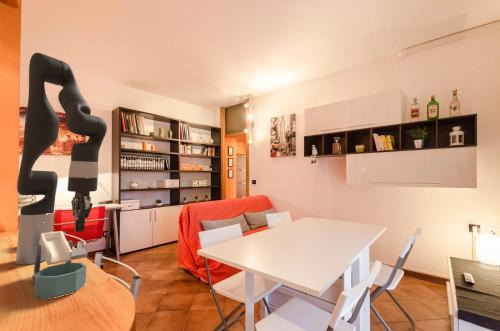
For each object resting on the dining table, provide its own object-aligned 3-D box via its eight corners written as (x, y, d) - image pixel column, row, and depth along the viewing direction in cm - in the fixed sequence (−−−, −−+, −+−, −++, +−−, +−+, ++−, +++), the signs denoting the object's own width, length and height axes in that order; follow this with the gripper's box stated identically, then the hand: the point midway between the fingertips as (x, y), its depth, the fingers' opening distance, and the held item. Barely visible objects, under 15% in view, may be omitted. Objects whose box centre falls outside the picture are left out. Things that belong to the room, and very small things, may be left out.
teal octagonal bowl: (32, 290, 61) (33, 269, 61) (78, 278, 69) (79, 260, 69) (38, 304, 54) (40, 280, 55) (88, 289, 62) (89, 268, 63)
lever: (38, 250, 72) (40, 233, 71) (74, 244, 79) (76, 229, 78) (46, 275, 62) (48, 255, 62) (85, 266, 69) (88, 248, 69)
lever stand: (31, 280, 67) (34, 244, 67) (67, 271, 73) (70, 239, 74) (34, 285, 64) (37, 248, 64) (71, 276, 70) (74, 242, 71)
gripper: (63, 175, 72) (58, 229, 71) (74, 176, 64) (69, 237, 63) (90, 176, 78) (87, 226, 77) (104, 177, 70) (100, 233, 69)
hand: (79, 231), depth 70 cm, fingers closed
